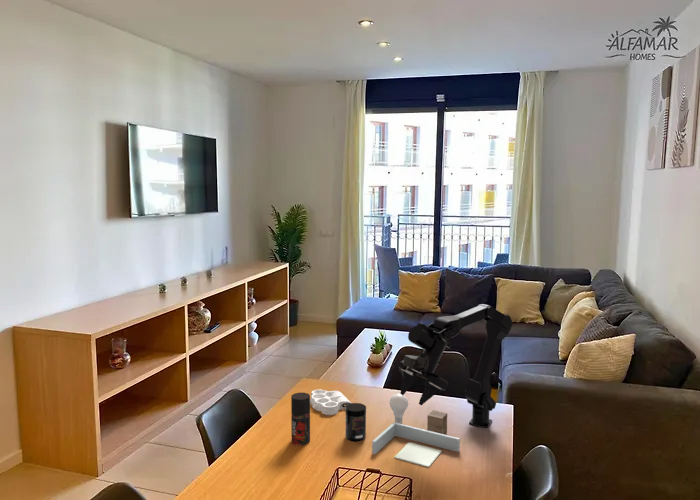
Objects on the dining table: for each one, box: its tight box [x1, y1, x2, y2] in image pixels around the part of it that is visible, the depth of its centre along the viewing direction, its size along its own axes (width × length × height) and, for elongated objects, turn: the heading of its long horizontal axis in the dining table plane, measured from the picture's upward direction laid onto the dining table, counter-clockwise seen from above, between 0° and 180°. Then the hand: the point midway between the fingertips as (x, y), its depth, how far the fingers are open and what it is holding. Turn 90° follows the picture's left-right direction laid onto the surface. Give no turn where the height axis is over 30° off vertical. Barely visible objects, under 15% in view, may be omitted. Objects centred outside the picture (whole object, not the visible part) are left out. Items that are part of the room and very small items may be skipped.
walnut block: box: [426, 409, 448, 435], centre depth 172 cm, size 5×5×7 cm
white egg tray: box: [310, 388, 352, 416], centre depth 196 cm, size 3×18×15 cm
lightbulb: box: [389, 392, 409, 424], centre depth 179 cm, size 6×6×11 cm
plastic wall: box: [371, 422, 461, 455], centre depth 160 cm, size 16×22×4 cm
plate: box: [394, 441, 443, 469], centre depth 158 cm, size 11×11×1 cm
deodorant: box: [290, 392, 311, 446], centre depth 166 cm, size 6×6×15 cm
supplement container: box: [344, 402, 367, 443], centre depth 169 cm, size 7×7×10 cm
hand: (410, 399), depth 163 cm, fingers open, 9 cm apart
